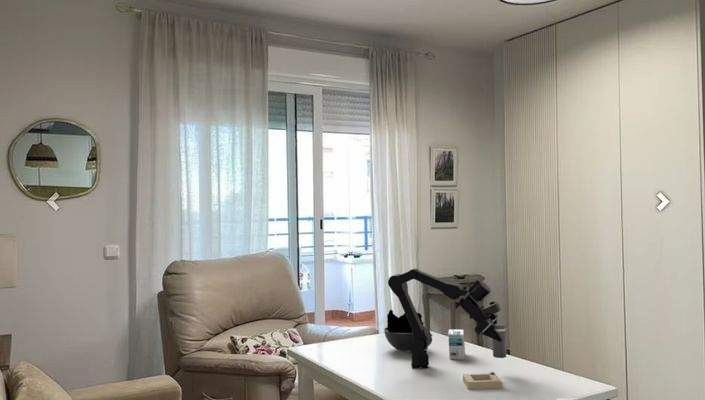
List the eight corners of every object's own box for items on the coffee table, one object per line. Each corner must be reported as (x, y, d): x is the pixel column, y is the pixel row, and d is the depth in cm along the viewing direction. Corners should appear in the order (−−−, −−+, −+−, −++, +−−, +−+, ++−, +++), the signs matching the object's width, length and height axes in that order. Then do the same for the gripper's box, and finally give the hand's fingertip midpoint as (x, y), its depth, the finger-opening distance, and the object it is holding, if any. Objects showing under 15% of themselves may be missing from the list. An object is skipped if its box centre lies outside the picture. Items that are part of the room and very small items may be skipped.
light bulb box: (465, 359, 237) (464, 334, 237) (448, 359, 238) (448, 334, 238) (465, 353, 247) (464, 329, 247) (449, 353, 248) (448, 328, 249)
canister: (493, 358, 213) (492, 326, 213) (491, 354, 218) (490, 323, 218) (507, 358, 212) (506, 326, 212) (505, 354, 217) (504, 323, 218)
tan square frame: (468, 389, 198) (467, 380, 198) (462, 380, 208) (462, 372, 208) (501, 388, 198) (501, 379, 198) (494, 379, 208) (494, 371, 208)
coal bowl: (435, 348, 258) (434, 307, 258) (416, 358, 241) (415, 315, 241) (397, 343, 269) (396, 304, 269) (376, 353, 252) (375, 311, 252)
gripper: (482, 299, 209) (513, 330, 204) (492, 292, 226) (521, 320, 221) (462, 319, 212) (492, 350, 207) (473, 310, 229) (501, 339, 224)
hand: (502, 339), depth 215 cm, fingers closed on canister, 5 cm apart
